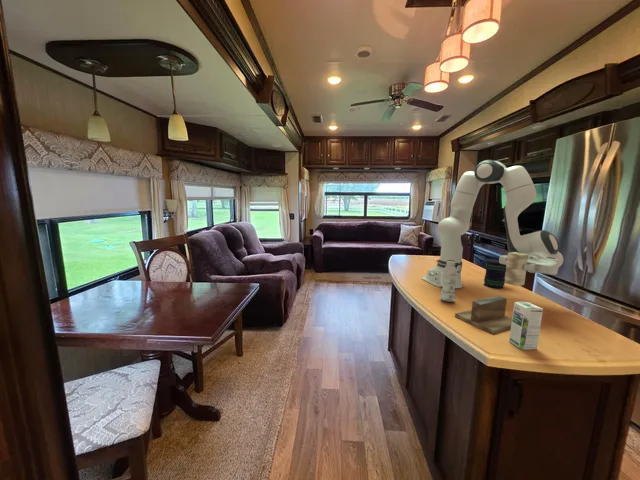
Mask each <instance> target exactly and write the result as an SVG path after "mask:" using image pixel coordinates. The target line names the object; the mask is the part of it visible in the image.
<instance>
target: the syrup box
mask: <svg viewBox="0 0 640 480" xmlns="http://www.w3.org/2000/svg"><path fill="white" fill-rule="evenodd" d="M543 313H544V308H542V307H539V306H537V305H535V304H533V303H532V302H530V301H529V302H528V301H515V302H514V303H513V312H512V317H511V318H512V324H511V329H510V332H509V338H508V342H509V343H510V344H512V345H514V346H516V347H517V349H519V350H521V351H527V350H528V351H529V350H530V351H531V350H537V349H538V343H539V339H540V338H539V337H540V332H541V331H540V330H541V326H542V325H541V324H542V319H543V315H544V314H543Z"/></svg>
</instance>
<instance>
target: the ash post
mask: <svg viewBox="0 0 640 480" xmlns="http://www.w3.org/2000/svg"><path fill="white" fill-rule="evenodd" d="M507 255H508V258H507V266H506V272H505V282H504V283H505V284H508V285H512V286H514V287H520V286H524V285H525V281H526V274H527V271H526V270H525V269H522V265H524V264H525V265H527V261H528V254H524V253H518V252H511V253H510V252H508V253H507Z"/></svg>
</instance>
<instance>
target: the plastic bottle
mask: <svg viewBox="0 0 640 480" xmlns="http://www.w3.org/2000/svg"><path fill="white" fill-rule="evenodd" d="M446 264H447V266H446V267H445V268H444V269H443V287H441V292H440V299H441V301H443V302H448V303H453V302H454V301H455V300H456V288H455V282H456V277H457V273H458V272H457V269H456V268H455V266H454V265H455V261H454V260H447V263H446Z"/></svg>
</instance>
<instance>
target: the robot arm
mask: <svg viewBox="0 0 640 480" xmlns="http://www.w3.org/2000/svg"><path fill="white" fill-rule="evenodd" d="M494 184H495V185H496V184H501V186H502V187H503V189H504V192H505V196H506V204H505V205H504V207H503V208H502V209H503V220H504V226H505V227H504V228H505V231H506V238H507V242H506V245H507V247H506V248H507V250H508V253H511V252H518V253H524V254H528V261H527V265H525V264H524V265H522V269H525V270H526V272H529V273H531V274H545V275H553V276H555V275H558V272H559V268H560V267H561V266H562V264H564V256H563V255H562V253H561V252H559V249H560V245H559V241H558V239H557V237H556V235H554V234H553V233H551V232H550V231H548V230H545V229H543V230H537V231H534V232H531V233H527V234H523V235H521V234H520V229H519V221H518V217H519V215H520V214H521V213H522V212H524V211H525V210H526V209H527V208H528V207H530V205H532V204H533V203H534V202H535V200H536V197H537V190H536V186H535V185H534V182H533V180H532V178H531V176H530V174H529V172H528V170H526V168H525V167H524V166H522V165H513V166H509V167H507V165H505V163H503V162H501V161H497V160H493V159H486V160H483V161H480V162H479V163H478V164H477V165H476V166H475V168H474V171H472V170H470V171H465V172H464V173H463V174H462V175H461V177H460V179H459V180H458V182H457V185H456V187H455V191H454V193H453V196H452V198H451V201H450V214H449V217H445V218H443V219H441V220H440V221H439V222H438V224H437V227H436V228H437V232H438V234H439V240H440V255H439V256H440V258H439V259H436V260H435V261H436V263H437V264H436V265H435V266H432V267H431V268H429V269H428V270H427V272H426V275H425V276H422V278H421V279H422V280H423V281H424V282H427V283H428V284H431V285H433V286H435V287H439V288H442V287H443V269H444V268H445V267H446V266H447V264H446V263H447V260H454V261H455V265H454V266H455V268H456V269H457V272H458V273H457V277H456V282H455V289H461V288H463V283H462V281H463V280H462V269H463V261H462V260H463V252H464V251H463V250H464V246H463V243H462V238H461V237H462V236H463V235H465V234H466V233H467V232H468V231H469V229H470V222H471V218H472V217H471V216H472V212H473V208H474V205H475V202H476V201H477V198H478V195H479V193H480V189H481V188H482V186H483V185H494ZM507 258H508V254H505V255H504V254H503V255H500V256H499V258H498V259H499V263H500V264H505V265H507Z"/></svg>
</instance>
